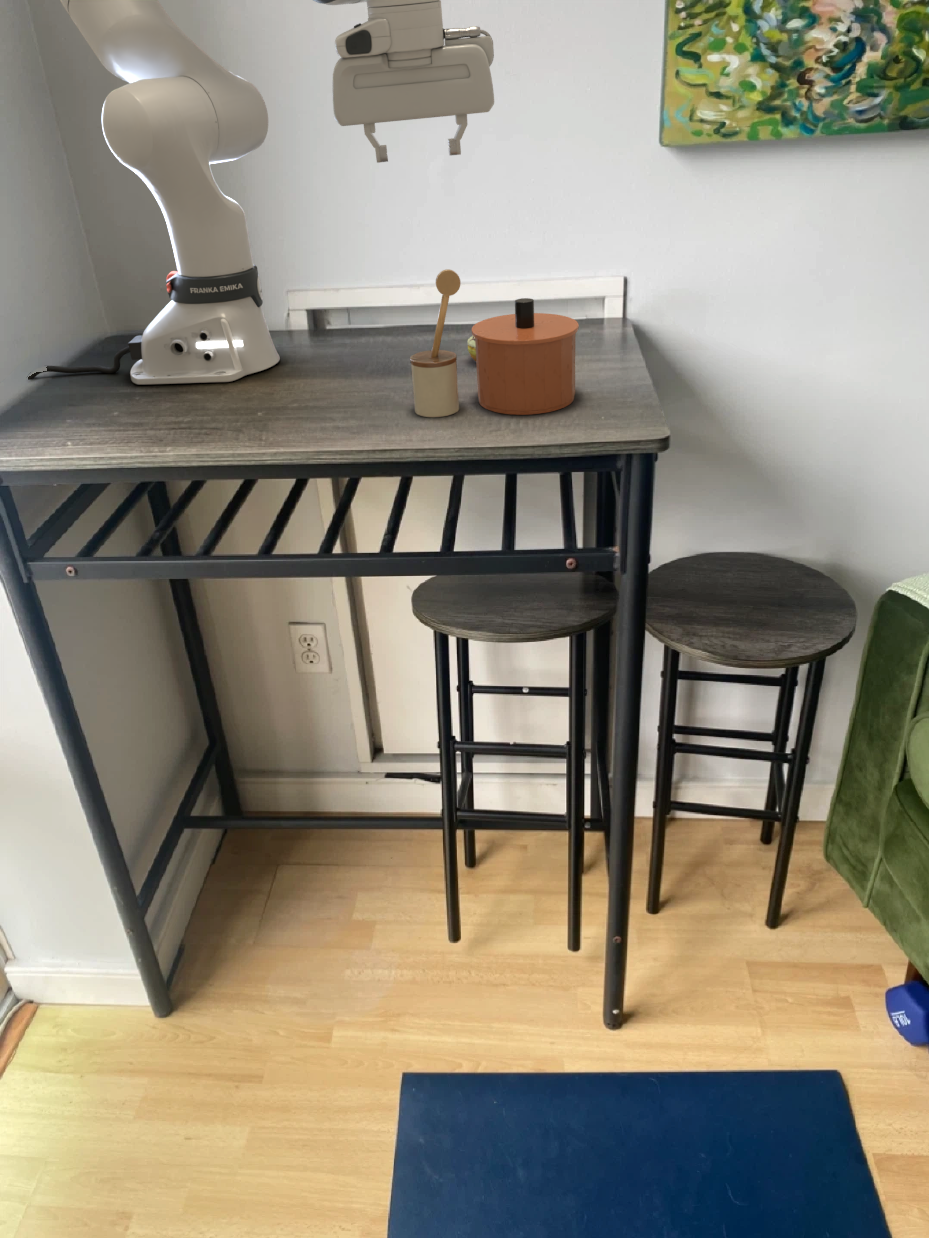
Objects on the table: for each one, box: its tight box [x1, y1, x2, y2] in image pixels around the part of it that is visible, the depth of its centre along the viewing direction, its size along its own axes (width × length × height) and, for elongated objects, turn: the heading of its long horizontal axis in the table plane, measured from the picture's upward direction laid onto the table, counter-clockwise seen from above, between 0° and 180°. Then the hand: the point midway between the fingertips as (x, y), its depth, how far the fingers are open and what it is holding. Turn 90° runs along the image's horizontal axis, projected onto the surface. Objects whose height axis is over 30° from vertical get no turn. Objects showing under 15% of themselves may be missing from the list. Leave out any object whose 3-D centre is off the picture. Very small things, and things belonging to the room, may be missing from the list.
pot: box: [475, 332, 577, 416], centre depth 122 cm, size 13×13×9 cm
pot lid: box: [471, 297, 579, 345], centre depth 119 cm, size 14×14×4 cm
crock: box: [409, 268, 462, 418], centre depth 119 cm, size 7×6×17 cm
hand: (418, 158), depth 122 cm, fingers open, 8 cm apart
